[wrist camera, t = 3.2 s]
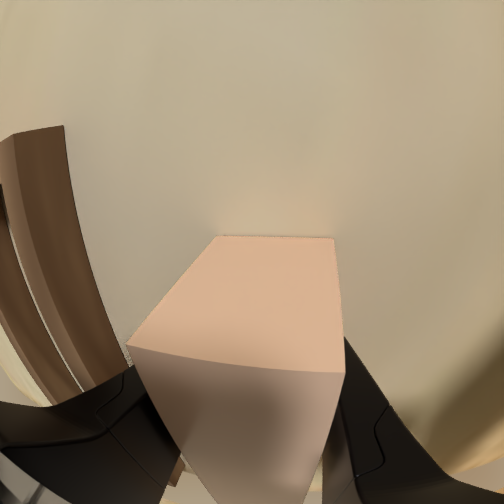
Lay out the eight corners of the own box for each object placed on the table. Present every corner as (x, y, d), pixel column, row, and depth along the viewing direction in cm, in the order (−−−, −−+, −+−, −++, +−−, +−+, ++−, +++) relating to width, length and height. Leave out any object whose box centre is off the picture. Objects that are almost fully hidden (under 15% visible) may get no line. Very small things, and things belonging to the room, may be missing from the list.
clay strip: (333, 238, 8) (345, 372, 4) (300, 475, 15) (289, 532, 11) (216, 235, 9) (125, 343, 4) (252, 470, 16) (236, 526, 12)
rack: (63, 125, 8) (13, 134, 6) (184, 464, 18) (175, 487, 16) (-14, 164, 10) (-46, 176, 8) (107, 435, 20) (95, 453, 18)
